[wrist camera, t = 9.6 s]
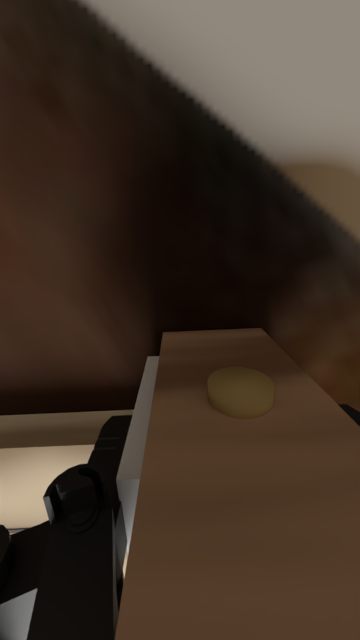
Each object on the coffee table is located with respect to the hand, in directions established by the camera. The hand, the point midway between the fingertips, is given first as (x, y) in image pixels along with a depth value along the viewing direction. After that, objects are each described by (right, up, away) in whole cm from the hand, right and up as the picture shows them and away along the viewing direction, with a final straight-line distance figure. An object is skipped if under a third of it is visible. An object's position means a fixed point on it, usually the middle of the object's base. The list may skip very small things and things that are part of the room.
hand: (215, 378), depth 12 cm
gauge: (0, -4, +2) cm, 5 cm away
